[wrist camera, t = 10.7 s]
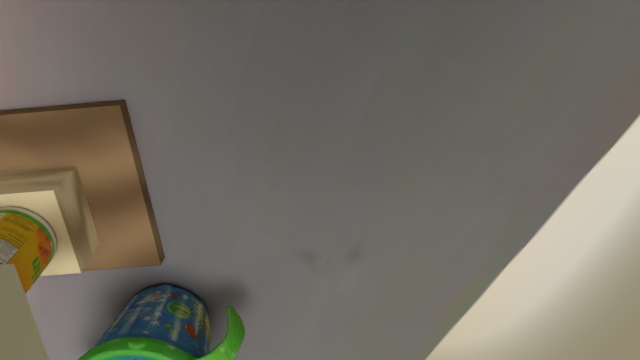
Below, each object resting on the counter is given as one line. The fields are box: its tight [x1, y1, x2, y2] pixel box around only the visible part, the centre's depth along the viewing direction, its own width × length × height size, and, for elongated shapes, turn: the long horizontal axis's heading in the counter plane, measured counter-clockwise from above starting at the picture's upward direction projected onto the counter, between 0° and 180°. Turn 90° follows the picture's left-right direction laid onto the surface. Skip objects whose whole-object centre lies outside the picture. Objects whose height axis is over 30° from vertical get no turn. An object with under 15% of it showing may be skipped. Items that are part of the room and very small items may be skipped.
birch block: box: [0, 167, 100, 276], centre depth 41 cm, size 7×7×4 cm
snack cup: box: [78, 284, 245, 360], centre depth 44 cm, size 16×10×10 cm
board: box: [0, 100, 164, 271], centre depth 42 cm, size 14×16×1 cm
